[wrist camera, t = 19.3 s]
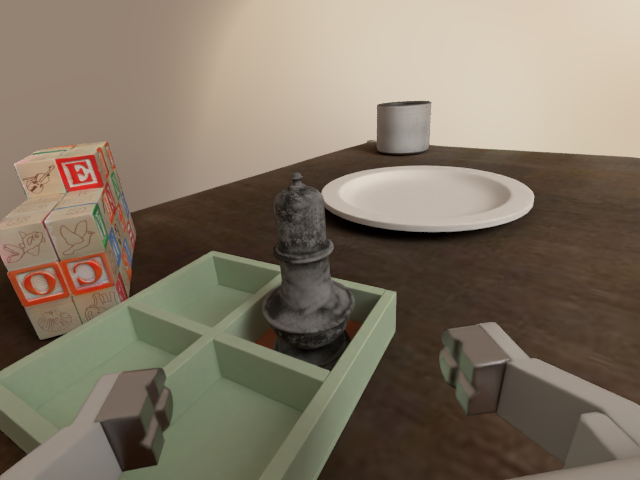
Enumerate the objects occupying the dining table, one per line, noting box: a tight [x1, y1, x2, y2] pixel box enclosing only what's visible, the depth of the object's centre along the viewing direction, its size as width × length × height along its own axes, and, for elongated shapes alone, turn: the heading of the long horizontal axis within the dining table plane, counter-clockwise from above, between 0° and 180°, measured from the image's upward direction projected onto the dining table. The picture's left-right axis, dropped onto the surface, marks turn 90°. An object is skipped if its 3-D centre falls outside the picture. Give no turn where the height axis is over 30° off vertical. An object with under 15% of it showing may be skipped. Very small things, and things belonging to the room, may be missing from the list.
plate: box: [321, 166, 534, 232], centre depth 50 cm, size 28×28×2 cm
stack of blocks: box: [0, 141, 136, 340], centre depth 34 cm, size 21×6×12 cm, turn 25°
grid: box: [0, 251, 396, 480], centre depth 22 cm, size 17×17×3 cm
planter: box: [377, 101, 431, 155], centre depth 84 cm, size 13×12×11 cm
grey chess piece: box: [262, 170, 355, 371], centre depth 21 cm, size 6×6×12 cm
